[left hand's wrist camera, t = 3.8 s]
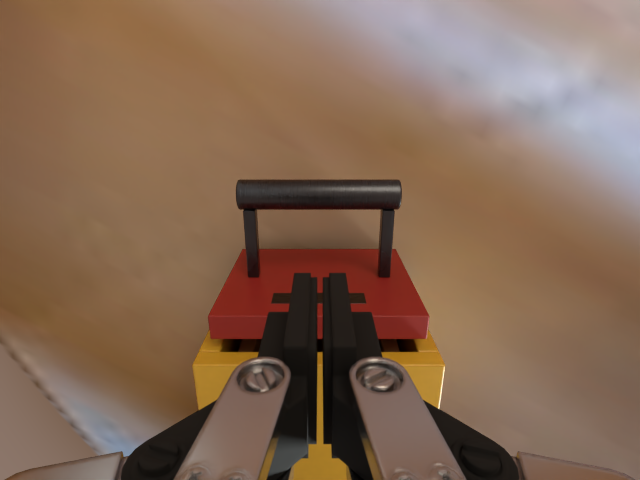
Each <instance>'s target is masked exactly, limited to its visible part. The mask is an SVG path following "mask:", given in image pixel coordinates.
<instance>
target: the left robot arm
mask: <svg viewBox="0 0 640 480" xmlns="http://www.w3.org/2000/svg"><path fill="white" fill-rule="evenodd" d="M317 359H318V334H317V277H311V273H294V277H293V284H292V291H291V297H290V304H289V311H288V312H268V315H267V320H266V324H265V328H264V332H263V336H262V340H261V344H260V348H259V353H258V357H256V358H251V359H249V360H247V361H244V362H242V363H241V364H240V365H238V366H237V367H236V368H235V369H234V371H233V372H232V374H231V375H230V377H229V379H228V381H227V383H226V385H225V386H224V388H223V390H222V392H221V394H220V396H219V397H218V399H217V400H215V401H214V402H212V403H210V404H209V405H207V406H205V407H204V408H202V409H200V410H198V411H197V412H195V413H193V414H192V415H190V416H188V417H187V418H185V419H183V420H181V421H180V422H178V423H176V424H175V425H173V426H171V427H170V428H168V429H166V430H164V431H163V432H161V433H159V434H158V435H156V436H154V437H153V438H151V439H149V440H147V441H146V442H144V443H143V444H142V445H140V446H139V447H138V448H136V449H135V450H134V451H133V452H132V454H131V455H130V456H127V457H123V453H122V452H116V453H111V454H106V455H101V456H95V457H90V458H85V459H80V460H75V461H69V462H64V463H59V464H54V465H49V466H44V467H38V468H33V469H29V470H25V471H22V472H19V473H16V474H14V475H12V476H10V477H9V478H7V479H5V480H293V477H294V464H295V463H296V462H298V461H299V460H300V459H301V458H308V452H309V444H317ZM322 359H323V444H331V452H332V458H339V459H340V460H341V461H342V462H344V463H345V464H346V477H347V480H635V479H633V478H631V477H630V476H628V475H626V474H624V473H621V472H618V471H615V470H612V469H607V468H602V467H597V466H592V465H586V464H581V463H576V462H571V461H565V460H560V459H555V458H550V457H545V456H539V455H534V454H529V453H524V452H518V453H517V457H513V456H510V455H509V454H508V452H507V451H506V450H505V449H504V448H502V447H501V446H500V445H498V444H497V443H496V442H494V441H493V440H491V439H489V438H487V437H486V436H484V435H482V434H481V433H479V432H477V431H476V430H474V429H472V428H470V427H469V426H467V425H465V424H464V423H462V422H460V421H459V420H457V419H455V418H453V417H452V416H450V415H448V414H447V413H445V412H443V411H442V410H440V409H438V408H436V407H435V406H433V405H431V404H430V403H428V402H426V401H425V400H423V399H422V397H421V396H420V394H419V392H418V390H417V388H416V386H415V385H414V383H413V381H412V379H411V377H410V375H409V374H408V372H407V371H406V369H405V368H404V367H403V366H402V365H400V364H399V363H398V362H396V361H393V360H391V359H389V358H384V357H382V353H381V348H380V344H379V340H378V336H377V332H376V328H375V324H374V320H373V315H372V312H352V311H351V304H350V297H349V291H348V284H347V277H346V273H329V277H323V334H322Z"/></svg>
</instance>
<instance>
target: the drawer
mask: <svg viewBox="0 0 640 480" xmlns="http://www.w3.org/2000/svg"><path fill="white" fill-rule="evenodd" d="M401 197H402V189H401V183H400V181H399V180H238V182H237V186H236V201H237V206H238V208H239V209H241V210H244V211H243V216H244V230H245V244H246V249H243V250H242V252H241V254H240V255H239V257H238V259H237V261H236V263H235V265H234V267H233V269H232V271H231V273H230V275H229V277H228V279H227V281H226V283H225V284H224V286H223V288H222V290H221V292H220V294H219V296H218V298H217V300H216V302H215V304H214V306H213V308H212V310H211V311H210V313H209V315H208V321H209V329H210V338H211V339H242V341H241V344H240V347H239V350H238V352H259V348H260V344H261V340H262V336H263V332H264V328H265V324H266V320H267V315H268V312H288V311H289V304H290V297H291V291H292V284H293V277H294V273H311V277H317V334H318V352H322V334H323V277H329V273H346V277H347V284H348V291H349V297H350V304H351V311H352V312H372V315H373V320H374V324H375V328H376V332H377V336H378V340H379V344H380V348H381V352H400V351H399V348H398V345H397V341H396V339H427V333H428V324H429V315H428V313H427V311H426V309H425V307H424V305H423V303H422V301H421V299H420V297H419V295H418V293H417V291H416V289H415V287H414V285H413V283H412V281H411V279H410V277H409V275H408V273H407V271H406V269H405V267H404V265H403V263H402V261H401V259H400V257H399V255H398V253H397V251H396V249H392V241H393V226H394V212H395V211H394V209H399V207H400V204H401ZM272 209H381V218H380V235H379V249H259V238H258V221H257V210H272Z"/></svg>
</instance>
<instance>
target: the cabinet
mask: <svg viewBox="0 0 640 480" xmlns="http://www.w3.org/2000/svg"><path fill="white" fill-rule="evenodd" d="M241 341H242V339H211V338H210V329H209V331H208V333H207V335H206V337H205V340H204V342H203V344H202V346H201V348H200V350H199V353H198V354H197V356H196V358H195V361H194V363H193V365H192V367H193V375H194V382H195V389H196V396H197V403H198V410H200V409H202V408H204V407H205V406H207V405H209V404H210V403H212V402H214V401H215V400H217V399H218V397H219V396H220V394H221V392H222V390H223V388H224V386H225V385H226V383H227V381H228V379H229V377H230V375H231V374H232V372H233V371H234V369H235V368H236V367H237V366H238V365H240V364H241V363H242V362H244V361H247V360H249V359H251V358H256V357H258V353H259V352H238V350H239V347H240V344H241ZM396 341H397V345H398V348H399V351H400V352H381V353H382V357H384V358H389V359H391V360H393V361H396V362H398V363H399V364H400V365H402V366H403V367H404V368H405V369H406V371H407V372H408V374H409V375H410V377H411V379H412V381H413V383H414V385H415V386H416V388H417V390H418V392H419V394H420V396H421V397H422V399H423V400H425V401H426V402H428V403H430V404H431V405H433V406H435V407H436V408H438V409H439V407H440V400H441V392H442V385H443V377H444V370H445V364H444V362H443V360H442V358H441V355H440V353H439V352H438V349H437V347H436V345H435V343H434V341H433V339H432V336H431V334H430V332H429V330H428V333H427V339H396ZM293 480H347V477H346V464H345V463H344V462H342V461H341V460H340V459H339V458H332V452H331V444H323V359H322V352H318V359H317V444H309V452H308V458H301V459H300V460H299V461H298V462H296V463H295V464H294V477H293Z"/></svg>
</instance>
